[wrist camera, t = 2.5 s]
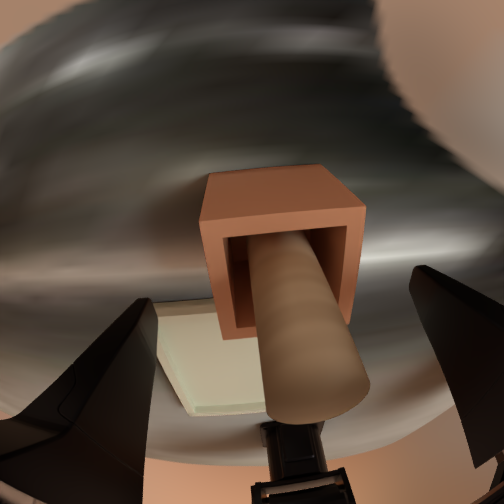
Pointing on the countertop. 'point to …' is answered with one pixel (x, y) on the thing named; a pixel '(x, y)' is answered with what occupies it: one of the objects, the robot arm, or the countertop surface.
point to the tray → (207, 361)
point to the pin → (301, 333)
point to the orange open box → (277, 220)
